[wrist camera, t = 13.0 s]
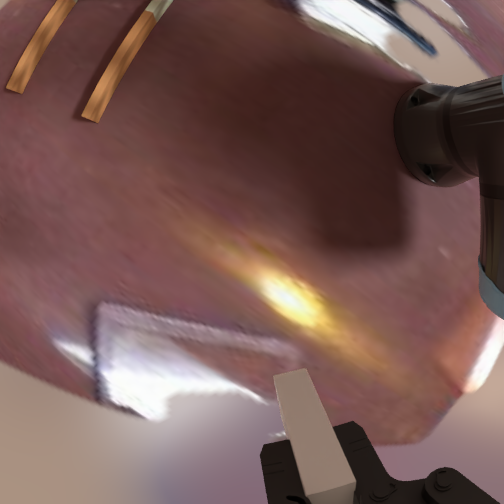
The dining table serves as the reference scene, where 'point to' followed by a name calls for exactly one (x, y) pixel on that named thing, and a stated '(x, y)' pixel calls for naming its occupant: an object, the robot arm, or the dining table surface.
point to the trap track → (114, 68)
